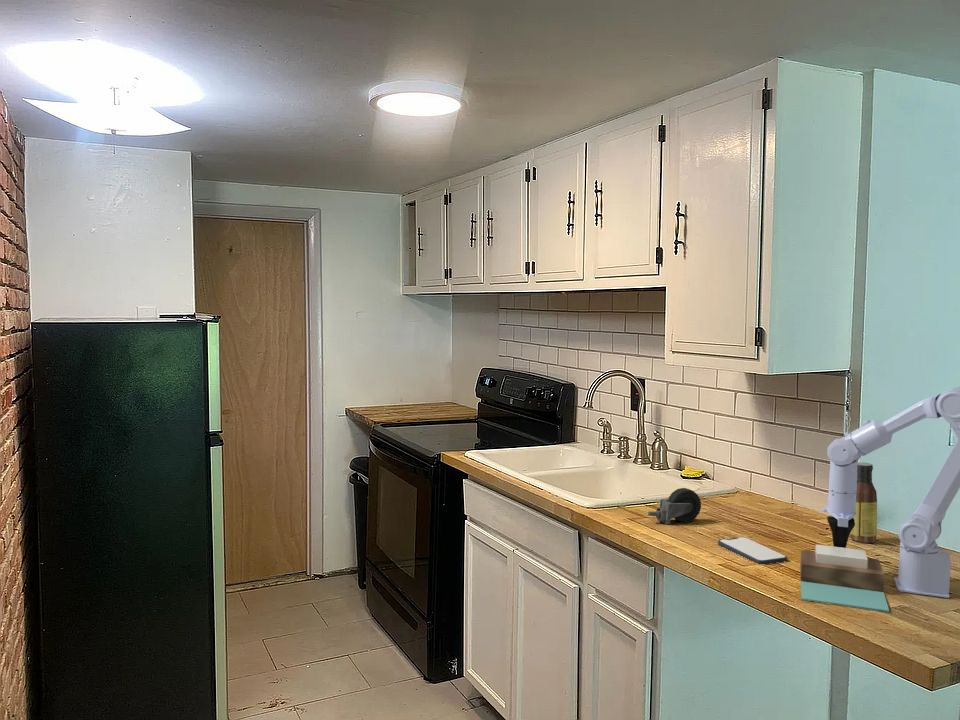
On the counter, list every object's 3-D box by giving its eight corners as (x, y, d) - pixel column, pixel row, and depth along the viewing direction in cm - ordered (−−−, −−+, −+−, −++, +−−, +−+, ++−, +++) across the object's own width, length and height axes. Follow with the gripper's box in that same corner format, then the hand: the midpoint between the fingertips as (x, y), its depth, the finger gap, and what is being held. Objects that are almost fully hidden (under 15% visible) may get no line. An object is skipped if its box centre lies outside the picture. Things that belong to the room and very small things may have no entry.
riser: (877, 577, 174) (878, 559, 174) (883, 593, 164) (884, 574, 164) (800, 566, 180) (801, 550, 180) (800, 582, 170) (801, 564, 170)
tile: (864, 558, 174) (864, 550, 174) (867, 568, 168) (867, 559, 167) (815, 553, 178) (815, 544, 178) (816, 562, 171) (816, 553, 171)
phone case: (789, 563, 184) (744, 542, 199) (790, 557, 184) (744, 536, 199) (759, 568, 181) (715, 546, 196) (760, 561, 181) (715, 539, 196)
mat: (883, 594, 164) (883, 592, 164) (889, 612, 154) (889, 610, 154) (800, 582, 170) (800, 581, 170) (801, 600, 160) (801, 598, 160)
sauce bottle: (879, 540, 201) (883, 464, 199) (871, 545, 196) (876, 467, 195) (852, 534, 206) (856, 460, 204) (844, 540, 201) (848, 463, 199)
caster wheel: (691, 520, 220) (642, 518, 216) (695, 487, 219) (647, 484, 216) (701, 526, 214) (652, 524, 211) (706, 492, 214) (656, 489, 210)
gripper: (822, 482, 185) (819, 538, 186) (824, 496, 171) (821, 557, 172) (855, 485, 182) (852, 542, 183) (859, 499, 169) (856, 561, 170)
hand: (839, 549), depth 178 cm, fingers closed
